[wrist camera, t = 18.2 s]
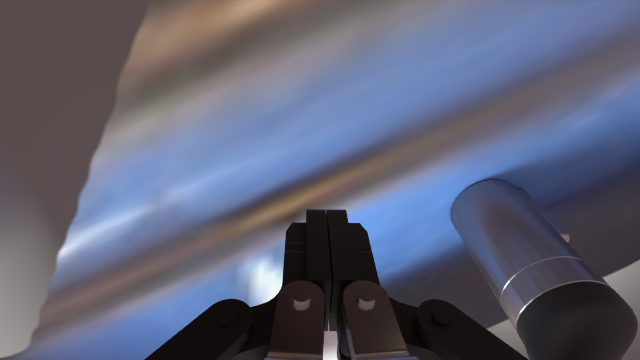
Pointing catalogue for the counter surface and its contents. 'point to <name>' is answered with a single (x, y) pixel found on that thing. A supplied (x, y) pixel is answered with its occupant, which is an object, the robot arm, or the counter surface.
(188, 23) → the counter surface
